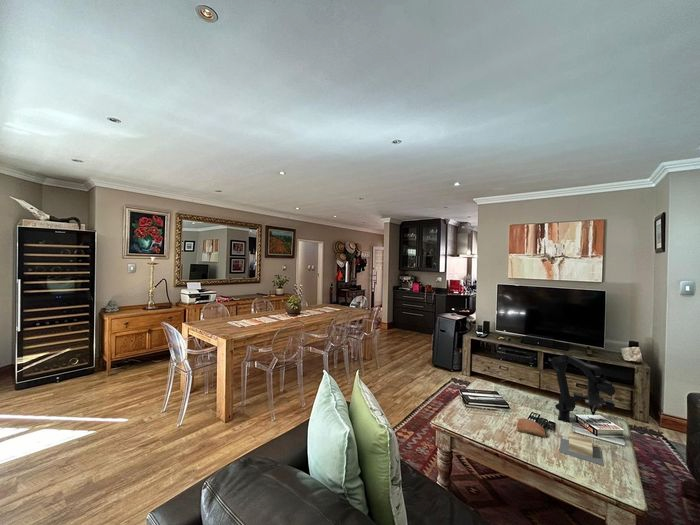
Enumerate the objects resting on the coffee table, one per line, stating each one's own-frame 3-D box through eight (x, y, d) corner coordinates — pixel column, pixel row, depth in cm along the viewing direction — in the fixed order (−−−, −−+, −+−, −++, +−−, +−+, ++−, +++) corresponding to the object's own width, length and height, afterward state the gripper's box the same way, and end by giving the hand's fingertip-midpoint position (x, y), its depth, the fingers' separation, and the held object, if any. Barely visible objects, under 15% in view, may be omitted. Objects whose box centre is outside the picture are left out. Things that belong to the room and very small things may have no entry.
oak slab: (569, 432, 176) (569, 443, 165) (591, 438, 170) (592, 450, 159) (569, 439, 176) (568, 450, 165) (591, 445, 170) (592, 457, 159)
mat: (560, 438, 177) (560, 437, 177) (600, 450, 167) (600, 449, 167) (559, 452, 164) (559, 451, 164) (603, 465, 154) (603, 465, 154)
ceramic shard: (544, 419, 189) (546, 434, 176) (542, 428, 191) (544, 443, 178) (517, 410, 196) (517, 424, 183) (515, 419, 197) (515, 433, 184)
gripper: (573, 388, 179) (573, 415, 179) (616, 397, 167) (615, 425, 168) (573, 382, 188) (573, 408, 188) (614, 390, 176) (613, 417, 177)
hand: (593, 414), depth 180 cm, fingers closed
